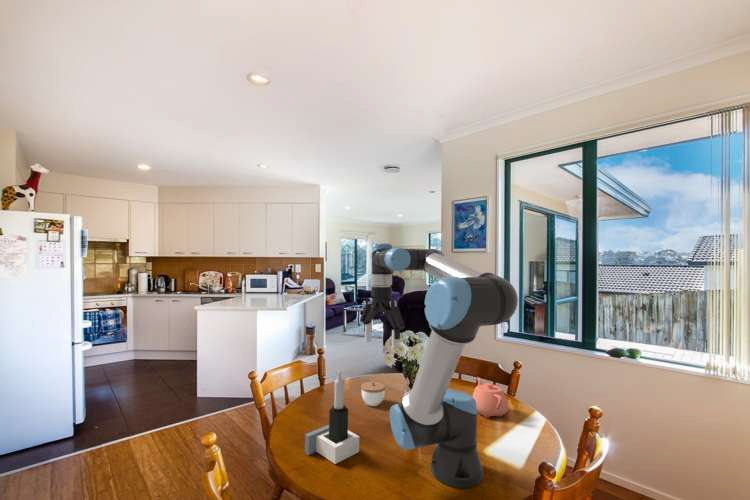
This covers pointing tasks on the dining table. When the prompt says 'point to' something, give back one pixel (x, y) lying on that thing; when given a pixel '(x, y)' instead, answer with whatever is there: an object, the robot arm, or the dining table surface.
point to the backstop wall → (313, 439)
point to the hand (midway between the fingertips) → (381, 345)
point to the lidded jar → (373, 393)
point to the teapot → (490, 400)
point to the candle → (338, 415)
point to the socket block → (337, 447)
